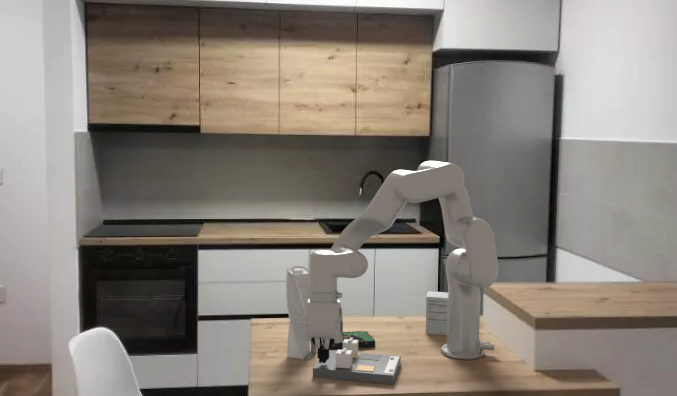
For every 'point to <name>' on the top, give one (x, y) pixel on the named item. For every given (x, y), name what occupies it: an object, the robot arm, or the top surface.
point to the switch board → (361, 368)
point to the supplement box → (436, 313)
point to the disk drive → (362, 336)
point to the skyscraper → (298, 313)
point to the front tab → (344, 358)
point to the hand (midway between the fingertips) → (323, 361)
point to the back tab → (351, 346)
